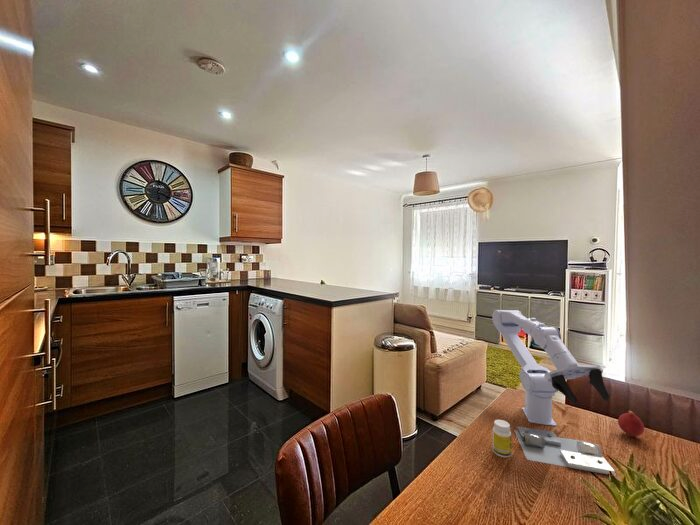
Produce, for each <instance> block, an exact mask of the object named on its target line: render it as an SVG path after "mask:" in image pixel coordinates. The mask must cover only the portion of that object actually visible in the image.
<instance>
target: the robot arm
mask: <svg viewBox="0 0 700 525" xmlns="http://www.w3.org/2000/svg"><path fill="white" fill-rule="evenodd" d="M491 317H492V318H491V319H492V323H493V325H494V327H495V328H496V330H497V332H498V333H500V334H501V335H502V338H503V340H504V342H505V343H506V345H507V346H508V348H509V350H510V351H511V353H512V354H513V357H514V358H515V359H516V361H517V362H518V364H519V366H520V367H521V369H520V371H519V374H518V376H519V380H520V381H521V385H522V387H523V389H524V391H525V395H524V407H521V410H522V409H523V410H522V411H523V413H524V415H525V417H526V419H527V420H528V422H529V423H533V424H538V425H539V424H540V425H545V426H554V427H557V422H555V420H554V419H553V397H555V394H556V393H558V392H559V393H561V394H563V396H565V398H567V399H568V400H569V401H570V402H571V403H572V404H573V405H574V406H576V405H578V401H579V400H578V398H577V397H576V395H575V394H574V392H573V390H572V389H571V388H570V385H569V384H568V382H567V381H566V380H574V379H578V378H580V377H586V376H588V378H589V380H588V381H589V382H588V383H590V384H591V386H592V387H594V388H595V390H596V391H597V392H598V393H599V395H600V396H601V398H602V399H603V400H604V401H605V402H607V401H609V399H610V398H611V397H610V395H609V392H608V390H607V388H606V386H605V382H604V378H603V373H604V370H603V368H602V367H601V366H600V365H599V364H595V365H589V364H580V363H578V361H577V360H576V358H575V357H574V355H573V354H572V353H571V351H570V350H569V349H568V348H567V346H566V344H564V342H563V341H562V333H561V331H560V330H559V329H558V327H556V326H547V325H546V324H545V323H544V322H541V321H538V320H537V318H535V317H530V318H529V317H528V318H527V317H526V316H525V315H523V314H522V311H520V310H518V309H514V310H513V309H510V310H508V309H494V310H493V312H492V315H491ZM521 331H523V332H524V333H525V334H527V335H528V336H530V337H531V338H532V340H533V342H534V343H535V345H537V346H539V347H540V348H541V349H542V350H544V351H545V353H546V354H547V356H548V357H549V359H550V360H551V362H552V364H553V365H554V367H555V368H556V369H555V370H552V371H550V370H549V368H547V367H545V366H542V365H540V364H538V363H537V361H536V359H535V358H534V357H533V355H532V354H531V352H530V351H529V349H528V348H527V346H526V345H525V343H524V342H523V341H522V338H520V336H519V335H518V334H520V333H521Z"/></svg>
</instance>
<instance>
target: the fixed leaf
mask: <svg viewBox="0 0 700 525" xmlns="http://www.w3.org/2000/svg"><path fill="white" fill-rule="evenodd" d="M516 428H517V429H516V431H518V432H519V435H520V437H521V440H522V441H523V442H524V444H525V445H527V446H533V447H539V448H545V444H547V445H553V446H559V447H561V442H560V441H559V439H558V438H557V437H558V436H557V434H556V433H555V432H554V431H549V430H544V429H538V428H529V427H525V426H517V427H516Z"/></svg>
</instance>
